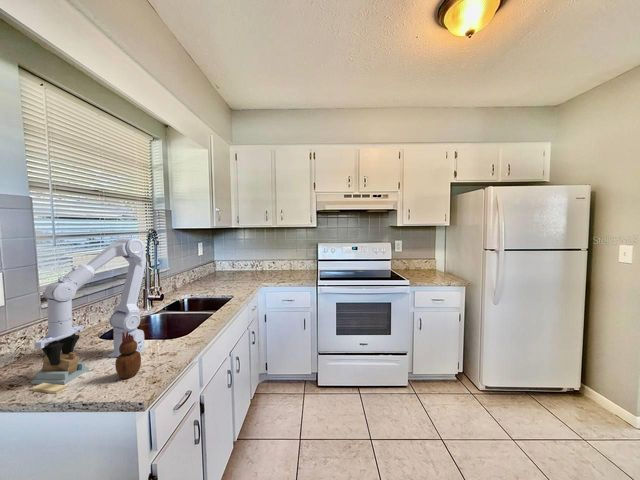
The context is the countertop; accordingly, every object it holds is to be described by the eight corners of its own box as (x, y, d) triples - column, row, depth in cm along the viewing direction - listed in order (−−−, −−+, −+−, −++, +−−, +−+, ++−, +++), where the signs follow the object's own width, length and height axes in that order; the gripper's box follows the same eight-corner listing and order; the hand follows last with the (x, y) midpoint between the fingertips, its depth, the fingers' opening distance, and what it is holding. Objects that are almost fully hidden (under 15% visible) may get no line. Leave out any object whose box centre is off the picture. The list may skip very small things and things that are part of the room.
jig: (88, 369, 94) (88, 361, 94) (64, 384, 86) (64, 374, 85) (59, 369, 95) (59, 360, 94) (31, 384, 86) (31, 374, 85)
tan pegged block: (76, 369, 92) (80, 351, 91) (66, 375, 88) (70, 356, 88) (52, 364, 92) (56, 346, 91) (41, 370, 88) (45, 350, 88)
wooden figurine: (121, 383, 87) (120, 335, 86) (112, 377, 90) (111, 331, 89) (144, 373, 92) (143, 328, 92) (135, 369, 95) (135, 325, 95)
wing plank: (67, 389, 84) (67, 385, 84) (56, 395, 81) (56, 391, 81) (43, 386, 85) (43, 382, 85) (31, 392, 82) (31, 388, 82)
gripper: (68, 313, 97) (69, 351, 97) (23, 327, 82) (24, 373, 83) (88, 313, 97) (89, 352, 97) (47, 327, 82) (48, 373, 83)
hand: (61, 361), depth 90 cm, fingers closed on tan pegged block, 3 cm apart
